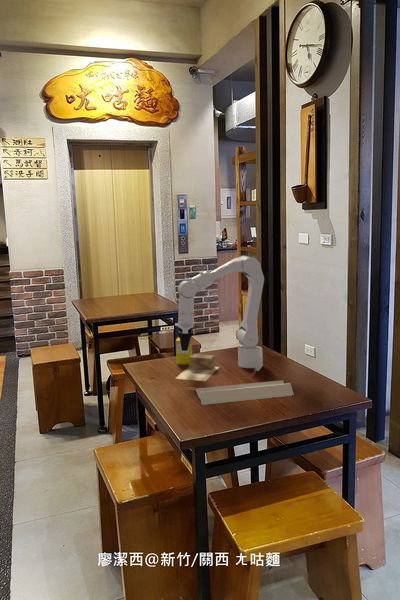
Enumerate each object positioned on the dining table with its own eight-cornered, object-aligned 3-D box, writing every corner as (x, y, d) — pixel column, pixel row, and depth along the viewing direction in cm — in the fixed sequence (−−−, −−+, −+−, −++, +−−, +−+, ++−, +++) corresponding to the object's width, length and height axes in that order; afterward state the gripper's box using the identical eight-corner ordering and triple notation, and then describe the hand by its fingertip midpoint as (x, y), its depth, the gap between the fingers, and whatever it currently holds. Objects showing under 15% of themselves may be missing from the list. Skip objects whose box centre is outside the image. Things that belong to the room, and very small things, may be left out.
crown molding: (282, 385, 176) (282, 376, 176) (294, 398, 165) (294, 387, 164) (196, 393, 171) (195, 383, 170) (202, 407, 159) (202, 396, 159)
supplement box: (192, 362, 205) (191, 336, 203) (191, 366, 199) (190, 340, 198) (178, 362, 206) (177, 336, 204) (176, 366, 200) (175, 340, 198)
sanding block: (215, 367, 194) (214, 355, 193) (211, 371, 189) (210, 358, 189) (193, 366, 197) (193, 353, 196) (189, 369, 193) (189, 357, 192)
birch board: (219, 369, 194) (219, 367, 194) (205, 383, 179) (205, 381, 179) (191, 367, 199) (191, 364, 198) (174, 381, 183) (174, 378, 183)
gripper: (176, 309, 193) (174, 342, 195) (174, 316, 178) (173, 352, 180) (194, 309, 193) (192, 343, 195) (194, 316, 178) (192, 353, 181)
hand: (184, 347), depth 188 cm, fingers open, 7 cm apart
